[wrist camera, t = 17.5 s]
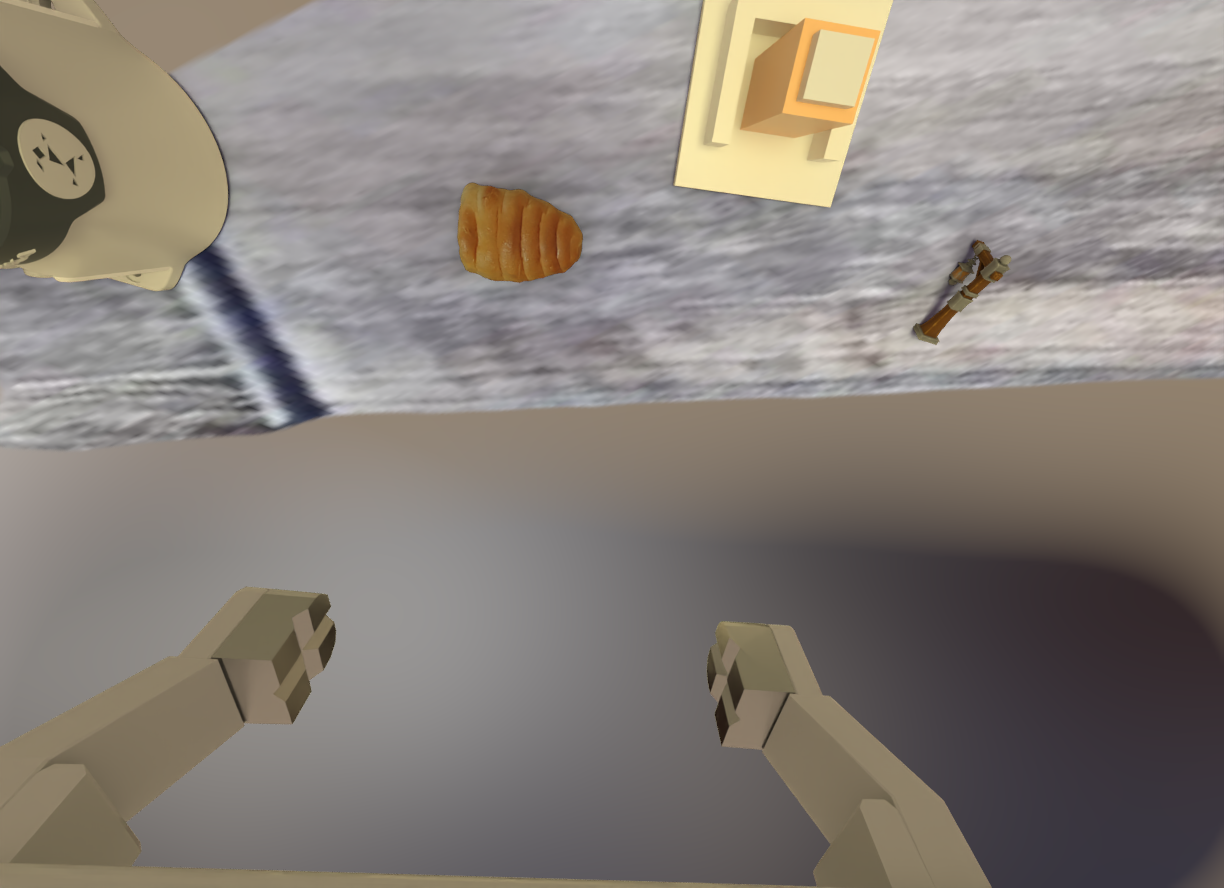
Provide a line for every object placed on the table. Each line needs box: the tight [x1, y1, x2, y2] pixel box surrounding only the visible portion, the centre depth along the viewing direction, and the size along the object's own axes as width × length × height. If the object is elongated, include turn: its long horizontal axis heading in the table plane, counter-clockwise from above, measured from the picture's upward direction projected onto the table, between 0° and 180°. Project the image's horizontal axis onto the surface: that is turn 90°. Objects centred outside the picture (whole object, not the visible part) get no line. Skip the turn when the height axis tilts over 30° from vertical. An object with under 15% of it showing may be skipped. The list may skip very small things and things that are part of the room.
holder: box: [673, 0, 893, 207], centre depth 32 cm, size 12×12×4 cm
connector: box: [740, 18, 881, 138], centre depth 29 cm, size 4×4×10 cm
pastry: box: [457, 183, 583, 283], centre depth 36 cm, size 9×7×4 cm
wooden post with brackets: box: [913, 240, 1011, 345], centre depth 39 cm, size 2×8×4 cm, turn 163°
